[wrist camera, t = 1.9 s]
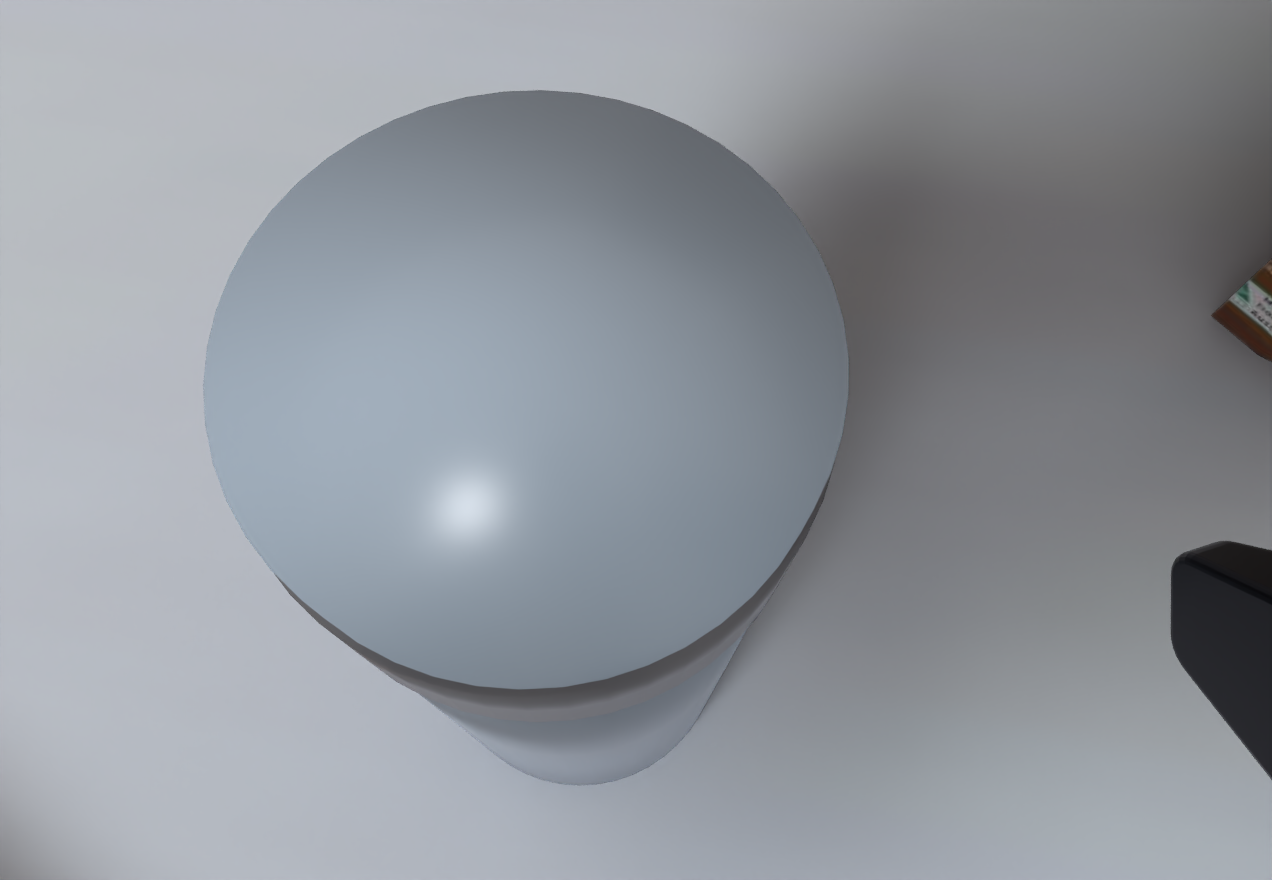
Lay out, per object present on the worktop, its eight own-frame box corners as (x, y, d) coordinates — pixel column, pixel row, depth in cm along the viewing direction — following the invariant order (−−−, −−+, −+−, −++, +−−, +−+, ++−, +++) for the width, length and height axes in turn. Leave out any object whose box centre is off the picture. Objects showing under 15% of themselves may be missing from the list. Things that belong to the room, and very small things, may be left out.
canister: (702, 808, 18) (828, 734, 7) (419, 766, 18) (107, 627, 7) (733, 533, 20) (875, 124, 9) (474, 496, 20) (292, 52, 9)
